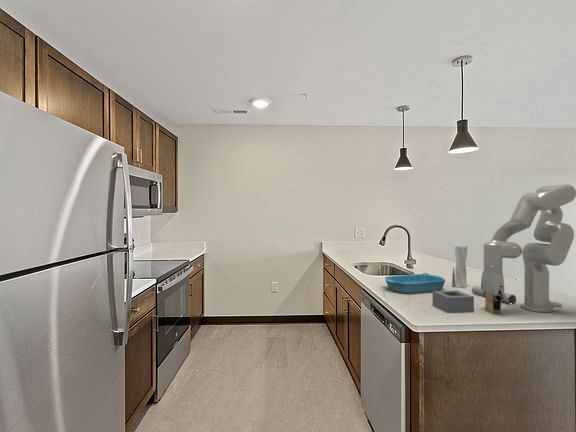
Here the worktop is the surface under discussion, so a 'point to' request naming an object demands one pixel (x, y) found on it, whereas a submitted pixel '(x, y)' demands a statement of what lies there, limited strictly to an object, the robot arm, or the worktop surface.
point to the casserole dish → (415, 283)
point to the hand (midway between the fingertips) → (492, 307)
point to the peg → (490, 303)
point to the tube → (507, 299)
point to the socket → (453, 301)
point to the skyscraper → (460, 266)
